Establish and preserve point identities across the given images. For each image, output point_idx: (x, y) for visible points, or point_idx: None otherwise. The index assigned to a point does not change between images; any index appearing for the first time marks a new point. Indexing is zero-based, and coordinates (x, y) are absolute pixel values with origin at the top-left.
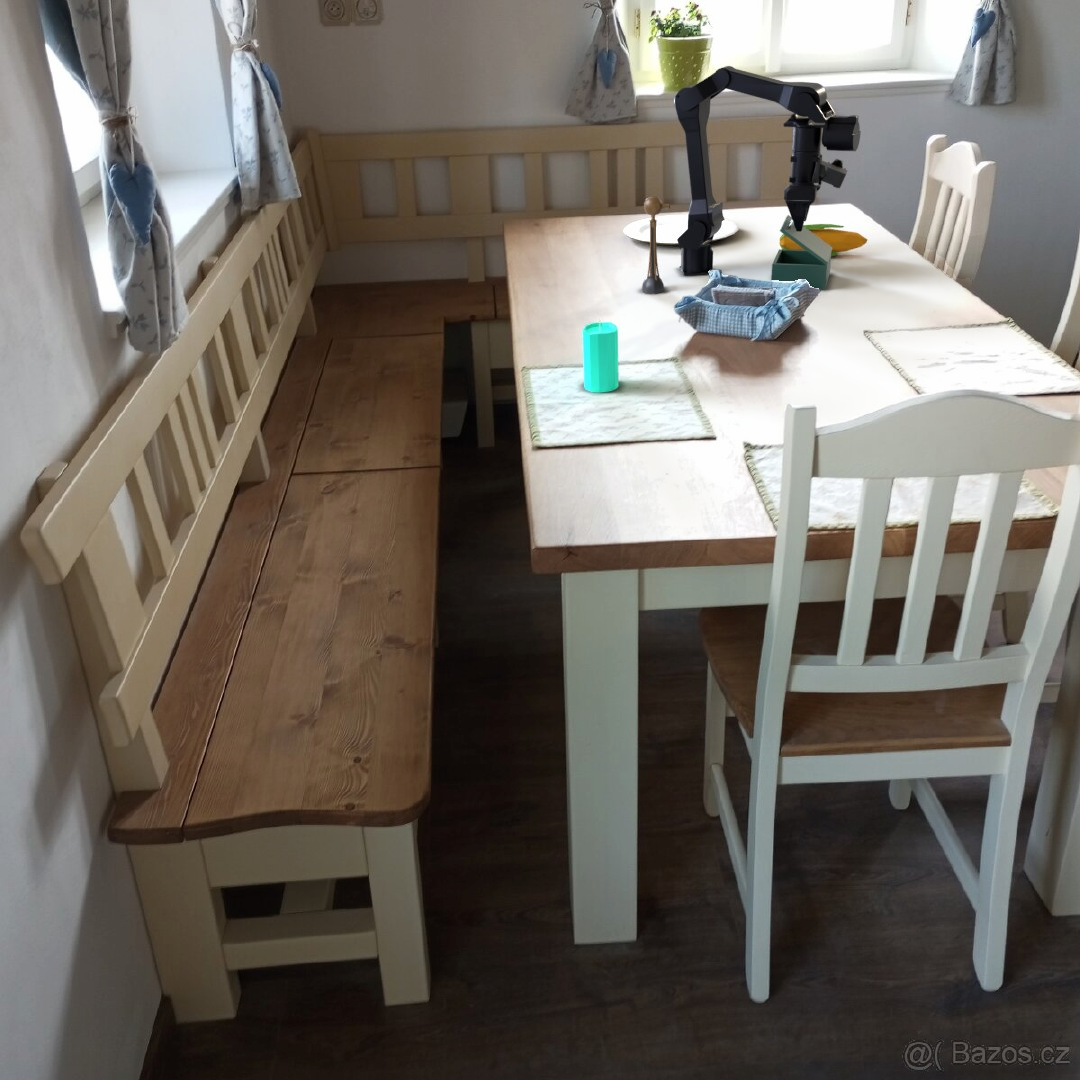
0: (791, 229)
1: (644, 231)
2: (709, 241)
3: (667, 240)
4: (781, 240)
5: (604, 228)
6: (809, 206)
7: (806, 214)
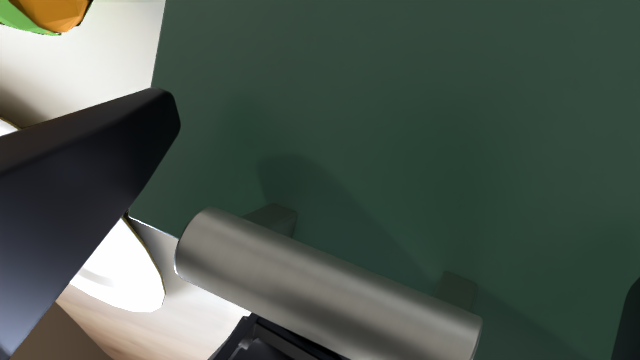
0: (477, 271)
1: (84, 266)
2: (275, 324)
3: (145, 274)
4: (62, 29)
5: (86, 295)
6: (28, 164)
7: (121, 129)
